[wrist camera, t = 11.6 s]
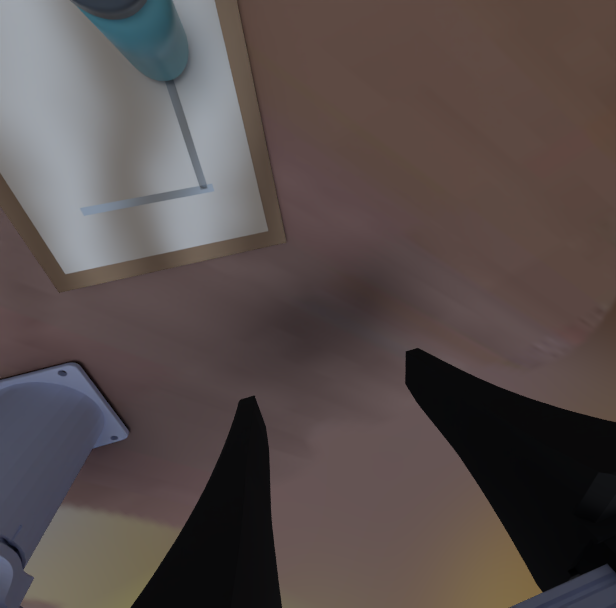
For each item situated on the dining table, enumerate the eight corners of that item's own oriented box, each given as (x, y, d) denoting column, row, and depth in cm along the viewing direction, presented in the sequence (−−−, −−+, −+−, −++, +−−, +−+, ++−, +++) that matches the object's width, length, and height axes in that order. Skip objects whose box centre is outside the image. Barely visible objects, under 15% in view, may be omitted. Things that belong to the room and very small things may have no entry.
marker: (140, 91, 12) (50, 13, 7) (108, 7, 11) (-40, -184, 5) (201, 82, 13) (166, 0, 7) (177, -1, 11) (109, -188, 6)
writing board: (67, 287, 16) (56, 294, 15) (-154, -48, 10) (-193, -71, 9) (284, 240, 18) (286, 243, 17) (220, -72, 11) (218, -93, 10)
